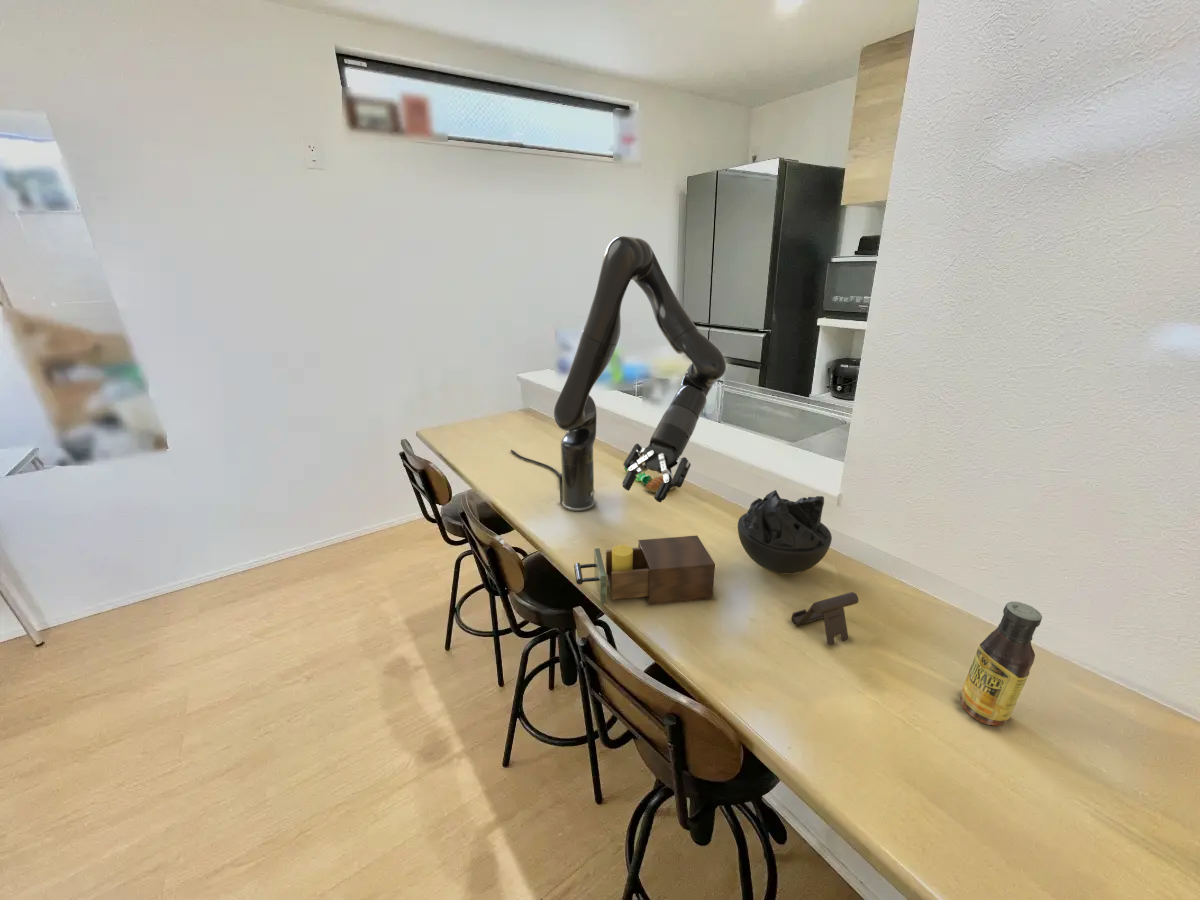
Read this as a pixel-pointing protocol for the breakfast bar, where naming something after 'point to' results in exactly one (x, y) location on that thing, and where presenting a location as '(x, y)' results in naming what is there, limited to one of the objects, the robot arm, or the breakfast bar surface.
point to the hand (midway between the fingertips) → (640, 494)
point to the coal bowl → (785, 533)
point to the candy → (642, 477)
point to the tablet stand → (828, 615)
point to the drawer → (617, 576)
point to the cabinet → (678, 569)
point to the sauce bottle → (1001, 666)
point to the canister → (622, 558)
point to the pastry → (655, 484)
